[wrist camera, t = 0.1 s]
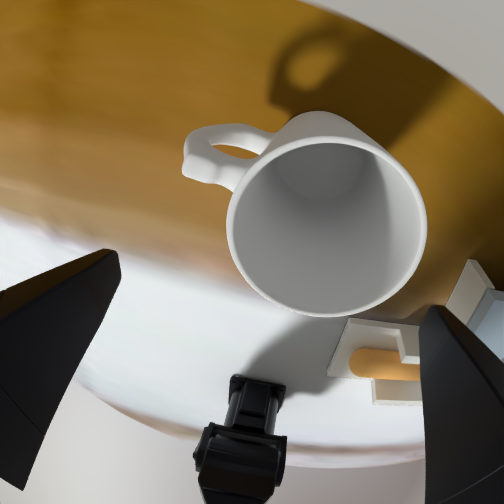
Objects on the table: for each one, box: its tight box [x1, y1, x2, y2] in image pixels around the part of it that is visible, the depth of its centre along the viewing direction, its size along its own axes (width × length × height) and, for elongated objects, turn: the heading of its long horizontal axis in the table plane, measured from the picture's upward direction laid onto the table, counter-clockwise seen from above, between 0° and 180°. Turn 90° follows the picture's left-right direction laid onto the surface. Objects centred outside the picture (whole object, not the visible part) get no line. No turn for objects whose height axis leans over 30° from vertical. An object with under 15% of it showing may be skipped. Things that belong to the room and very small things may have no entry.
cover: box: [467, 289, 504, 363], centre depth 19 cm, size 8×8×2 cm
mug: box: [182, 111, 427, 317], centre depth 15 cm, size 10×7×12 cm, turn 68°
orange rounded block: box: [349, 348, 420, 381], centre depth 26 cm, size 3×9×3 cm, turn 85°
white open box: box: [327, 259, 495, 406], centre depth 24 cm, size 16×18×4 cm
